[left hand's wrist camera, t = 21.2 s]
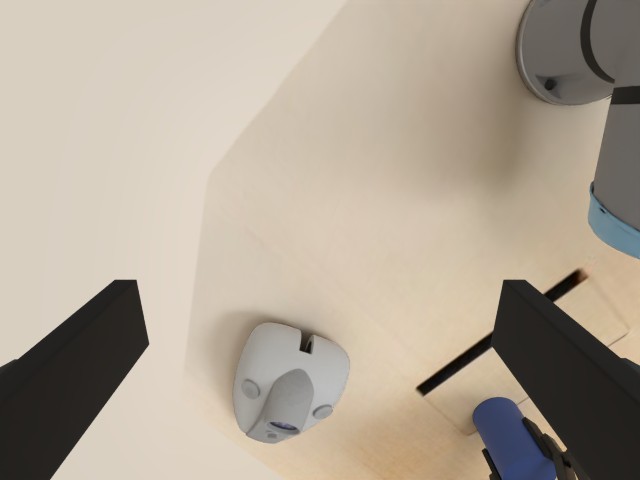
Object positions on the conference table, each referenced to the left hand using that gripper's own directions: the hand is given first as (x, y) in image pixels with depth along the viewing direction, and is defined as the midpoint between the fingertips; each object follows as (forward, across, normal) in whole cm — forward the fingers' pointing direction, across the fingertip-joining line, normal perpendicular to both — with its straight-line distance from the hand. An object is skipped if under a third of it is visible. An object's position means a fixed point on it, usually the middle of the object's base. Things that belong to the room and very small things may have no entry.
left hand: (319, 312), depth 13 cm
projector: (+37, -6, -35) cm, 51 cm away
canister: (+37, +31, -44) cm, 65 cm away
